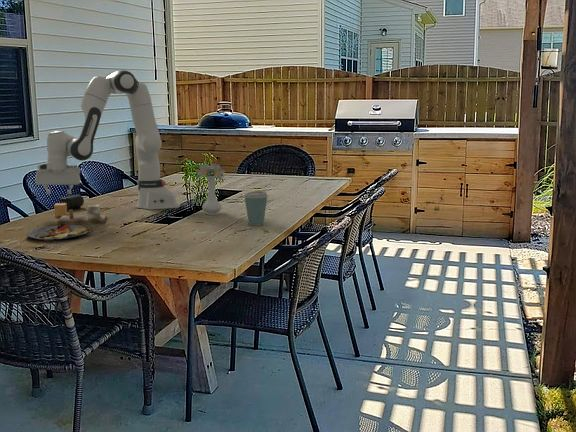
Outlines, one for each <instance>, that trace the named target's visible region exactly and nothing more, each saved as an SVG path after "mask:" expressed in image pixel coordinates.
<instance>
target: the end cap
mask: <svg viewBox="0 0 576 432" xmlns="http://www.w3.org/2000/svg"><path fill="white" fill-rule="evenodd" d="M59 199H60V200H59V201H60V203H67V211H69V210H70V209H73V210H74V209H79V208H81V207H82V206H83V205H84V203H85V199H84V197H83V196H82V195H81V194H76V195H71V194H70V195H68V196H62V197H60V198H59Z"/></svg>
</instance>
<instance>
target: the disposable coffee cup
mask: <svg viewBox="0 0 576 432" xmlns="http://www.w3.org/2000/svg"><path fill="white" fill-rule="evenodd" d="M243 198H244V203H245V209H246V214H247V215H246V216H247V219H248V225H249V226H253V227H256V226H263V225H264V223H265V216H266V208H267V199H268V194H267V191H264V190H255V191H250V192H249V191H248V192H246V193H244V195H243Z"/></svg>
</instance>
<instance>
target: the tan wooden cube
mask: <svg viewBox="0 0 576 432" xmlns="http://www.w3.org/2000/svg"><path fill="white" fill-rule="evenodd" d="M53 207H54V208H53V209H54V217H62V216H68V210H67V203H65V202H60V203H57V202H56V203H54V205H53Z"/></svg>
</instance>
